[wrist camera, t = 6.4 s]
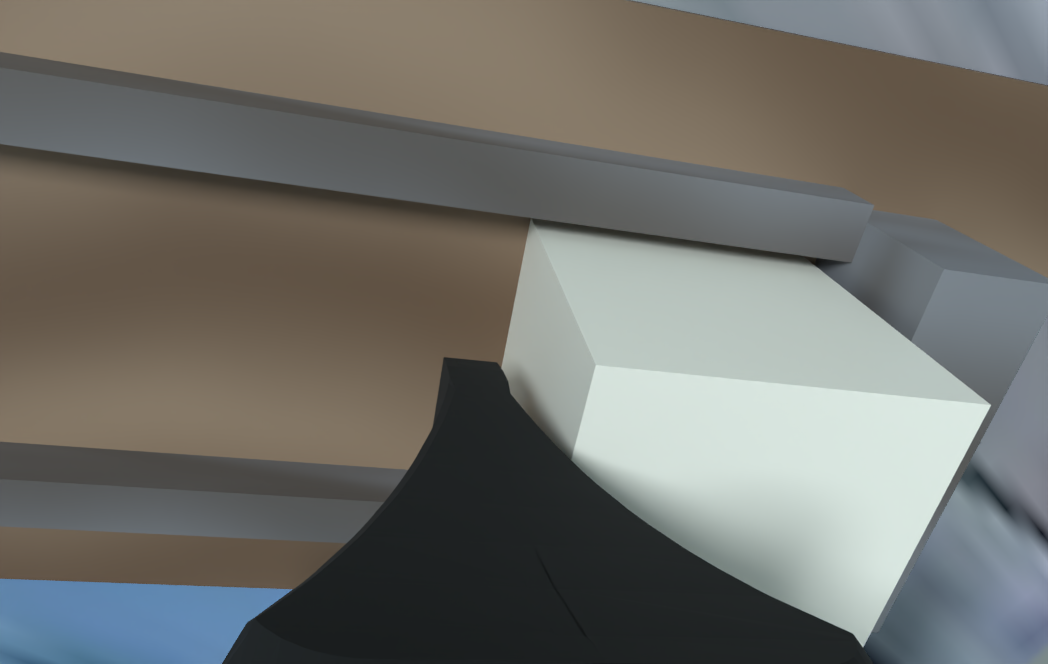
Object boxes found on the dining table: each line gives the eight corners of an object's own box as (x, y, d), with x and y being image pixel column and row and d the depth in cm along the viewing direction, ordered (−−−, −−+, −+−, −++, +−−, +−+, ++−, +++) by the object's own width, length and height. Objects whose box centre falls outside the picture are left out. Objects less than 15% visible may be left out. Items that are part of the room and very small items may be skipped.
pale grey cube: (720, 479, 16) (841, 688, 11) (482, 462, 15) (513, 683, 10) (802, 255, 14) (991, 404, 9) (531, 217, 13) (595, 365, 8)
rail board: (848, 565, 20) (960, 723, 16) (-126, 517, 15) (-317, 720, 11) (1078, 91, 14) (1331, 147, 10) (-290, -187, 10) (-752, -275, 6)
